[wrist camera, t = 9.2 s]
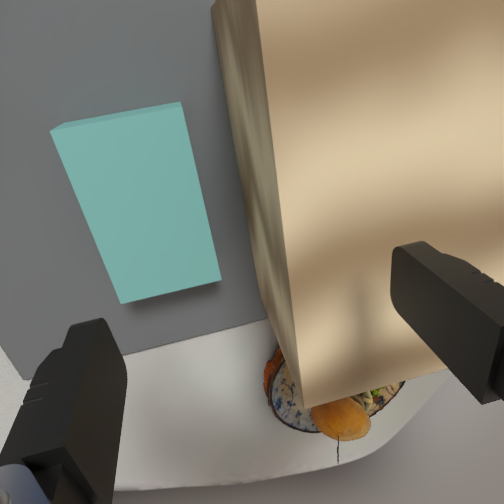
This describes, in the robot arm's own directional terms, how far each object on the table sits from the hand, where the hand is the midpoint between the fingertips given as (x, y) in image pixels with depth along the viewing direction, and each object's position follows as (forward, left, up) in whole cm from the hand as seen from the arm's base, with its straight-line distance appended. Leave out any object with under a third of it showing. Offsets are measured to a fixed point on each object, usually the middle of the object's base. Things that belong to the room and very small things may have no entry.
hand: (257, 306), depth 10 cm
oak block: (0, +6, -11) cm, 13 cm away
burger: (+17, +6, -12) cm, 22 cm away
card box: (0, -4, -9) cm, 9 cm away
